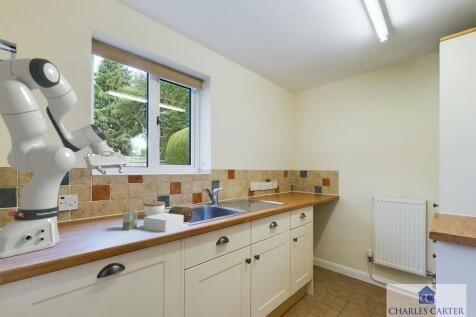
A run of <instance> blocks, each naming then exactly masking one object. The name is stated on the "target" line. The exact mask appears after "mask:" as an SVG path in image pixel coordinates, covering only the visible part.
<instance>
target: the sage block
mask: <svg viewBox="0 0 476 317" xmlns="http://www.w3.org/2000/svg"><path fill="white" fill-rule="evenodd" d="M137 228H138V212H137V211H136V212H135V211H128V212H127V211H125V212H122V230H124V231H125V230H126V231H133V230H135V229H137Z"/></svg>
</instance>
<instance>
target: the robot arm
mask: <svg viewBox="0 0 476 317" xmlns="http://www.w3.org/2000/svg"><path fill="white" fill-rule="evenodd" d="M34 90H39V91H40V92H41V94H42V95H43V96H44V98H45V99H46V101H47V106H46V108H45V111H46V114H47V116H48V118H49V120H50V122H51V124H52V126H53V128H54V129H55V131H56V133H57V135H58V136H59V139H60V140H61V144H62V145H63V146H60V145H46V144H45V142H44V134H45V133H47V131H48V125H47V122H46V120H45V118H44V115H43V112H42V110H41V108H40V106H39V103H38V102H37V99H36V97H35V96H34V94H33V93H34V92H33V91H34ZM77 103H78V96H77V93H76V92H75V90H74V88H73V87H72V85H71V84H70V83H69V82H68V80H67V79H66V78H65V76H64V75H63V73H61V72H60V71H59V69H58V68H57V66H56V65H55V64H54V63H52V62H51V61H50V60H48V59H45V58H40V57H35V58H30V57H29V58H25V57H24V58H22V57H14V58H7V59H0V116H1V118H2V121H3V122H4V124H5V126H6V129H7V131H8V133H9V137H10V141H11V142H10V143H11V149H10V151H9V152H8V154H7V158H6V159H7V160H6V161H7V164H8V165H9V166H10V167H11V168H12V169H14V170H17V171H20V172H24V173H33V175H32V177H31V179H30V181H29V182H28V183H27V184H25V185H24V186H23V188H22V189H21V199H20V208H19V209H18V210H16V211H15V210H9V211H8V212H7V216H9V217H13V220H12V221H10V222H8V223H7V224H5V225H4V226H3V227H1V228H0V259H3V258H4V259H5V258H9V257H13V256H18V255H23V254H27V253H31V252H35V251H36V252H37V251H41V250H43V249H49V248H53V247H56V244H58V243H59V242H60V241H61V236H60V233H59V228H58V219H59V206H58V202H59V191H60V186H61V183H62V181H63V179H64V177H65V176H66V174H67V173H68V172H69V171H71V170H72V169H73V168H74V167H75V165H76V164H77V158H76V154H75V153H77V152H79V151H81V150H83V149H84V148H87V147H88V148H89V149H90V150H91V153H86V154H84V155H83V159H84V160H85V164H86V167H87V169H88V170H90V171H91V170H97V172H99V173H101V175H102V176H105V175H107V171H106V169H116V168H117V169H118V173H119V174H123V173H124V169H123V168H125V167H126V166H127V165H128V161H127V158H126V157H125V156H124V155H123V154H122V153H121V150H120V149H117V148H114V147H110V146H109V145H108V144H107V141H106V135H105V134H104V132H103V130H102V129H101V128H100V127H99V126H98V125H97V124H94V123H91V124H87V125H85V126H82V127H80V128H78V129H76V130H75V129H74V130H73V131H68V130H67V128H66V126H65V124H64V122H63V119H64V118H65V116H67V114H68V113H70V112H71V111H72V110H73V109H74V108H75V106H76V105H77Z"/></svg>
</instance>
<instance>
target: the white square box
mask: <svg viewBox="0 0 476 317" xmlns="http://www.w3.org/2000/svg"><path fill="white" fill-rule="evenodd" d="M183 219H184V215H178V214H170V213H169V212H163V213H160V214H156V215H152V216H144V217H143V229H145V230H150V231H154V232H155V231H156V232H161V231H164V232H163V233H167V232H170V231H173V230H176V229H178V228H181V227H184V221H183ZM175 228H176V229H175ZM172 229H173V230H172ZM169 230H170V231H169ZM166 231H167V232H166Z"/></svg>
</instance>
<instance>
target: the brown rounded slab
mask: <svg viewBox="0 0 476 317" xmlns="http://www.w3.org/2000/svg"><path fill="white" fill-rule="evenodd" d="M168 213H170V214H178V215H184V219H183V223H186V222H189V221H191V220H192V219H193V217H194V210H193V209H192V208H191V207H189V206H179V205H177V206H172V207H170V208H169V209H168Z"/></svg>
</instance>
